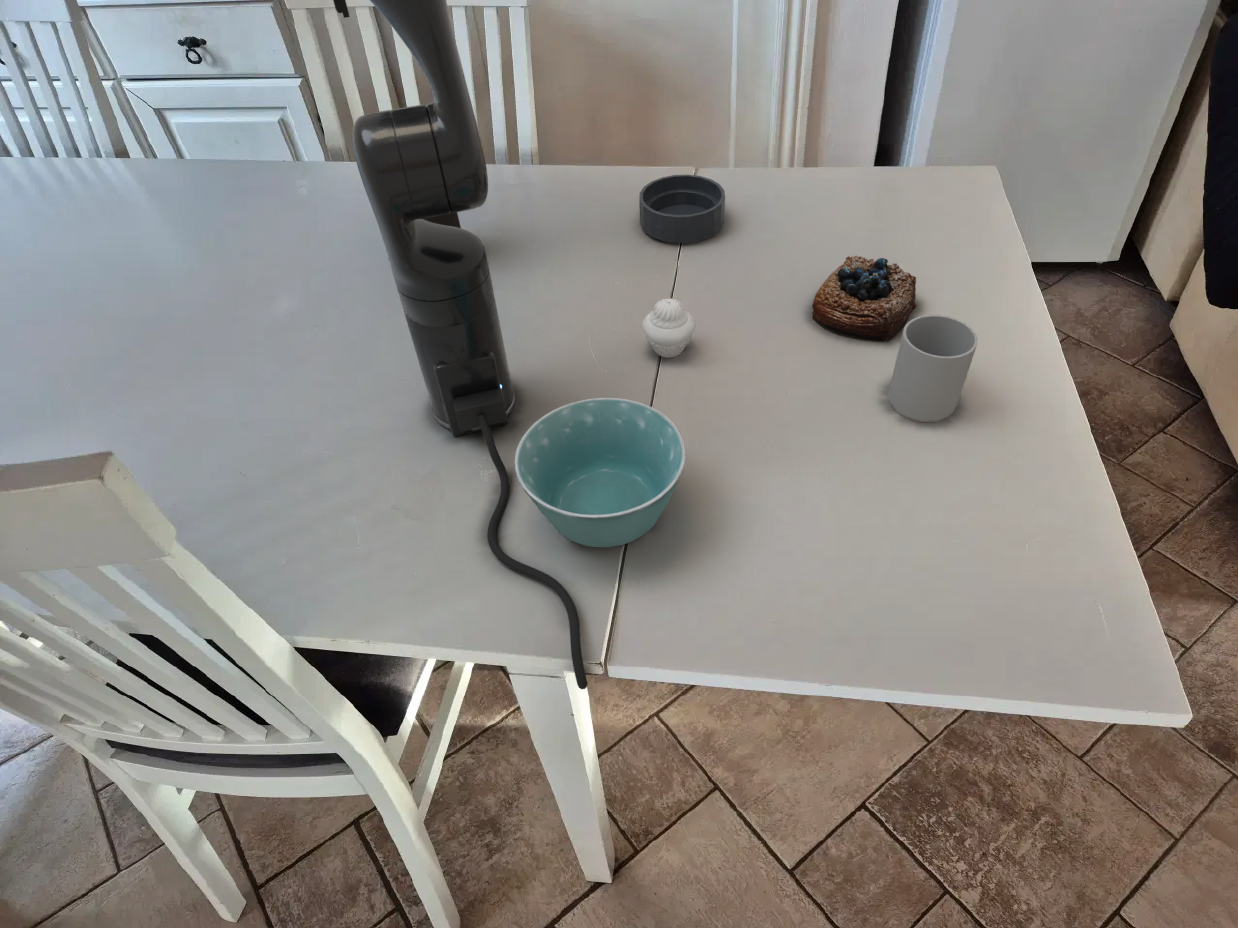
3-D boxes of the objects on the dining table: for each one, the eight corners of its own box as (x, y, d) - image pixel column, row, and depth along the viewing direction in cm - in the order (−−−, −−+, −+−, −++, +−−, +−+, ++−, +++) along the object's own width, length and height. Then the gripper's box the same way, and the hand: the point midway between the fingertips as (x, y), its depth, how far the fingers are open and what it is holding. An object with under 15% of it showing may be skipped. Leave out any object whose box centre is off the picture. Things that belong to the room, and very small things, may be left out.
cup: (879, 412, 88) (895, 347, 82) (903, 359, 94) (919, 294, 87) (947, 431, 85) (969, 365, 79) (967, 375, 91) (989, 310, 85)
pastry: (923, 299, 102) (934, 258, 97) (888, 351, 95) (898, 310, 91) (840, 275, 106) (847, 235, 102) (801, 323, 100) (806, 283, 95)
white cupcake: (640, 364, 96) (637, 315, 91) (646, 332, 100) (645, 284, 95) (692, 367, 95) (693, 318, 90) (697, 335, 99) (698, 287, 94)
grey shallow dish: (736, 236, 114) (737, 207, 111) (655, 253, 112) (654, 223, 109) (706, 197, 122) (707, 168, 119) (630, 212, 120) (629, 183, 117)
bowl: (508, 480, 84) (495, 422, 78) (649, 437, 87) (646, 378, 81) (553, 596, 74) (542, 540, 68) (711, 543, 77) (714, 484, 71)
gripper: (276, -136, 86) (324, 29, 98) (410, -152, 88) (441, 11, 100) (276, -148, 91) (322, 10, 103) (403, -162, 93) (434, -6, 105)
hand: (381, 11), depth 101 cm, fingers open, 8 cm apart
